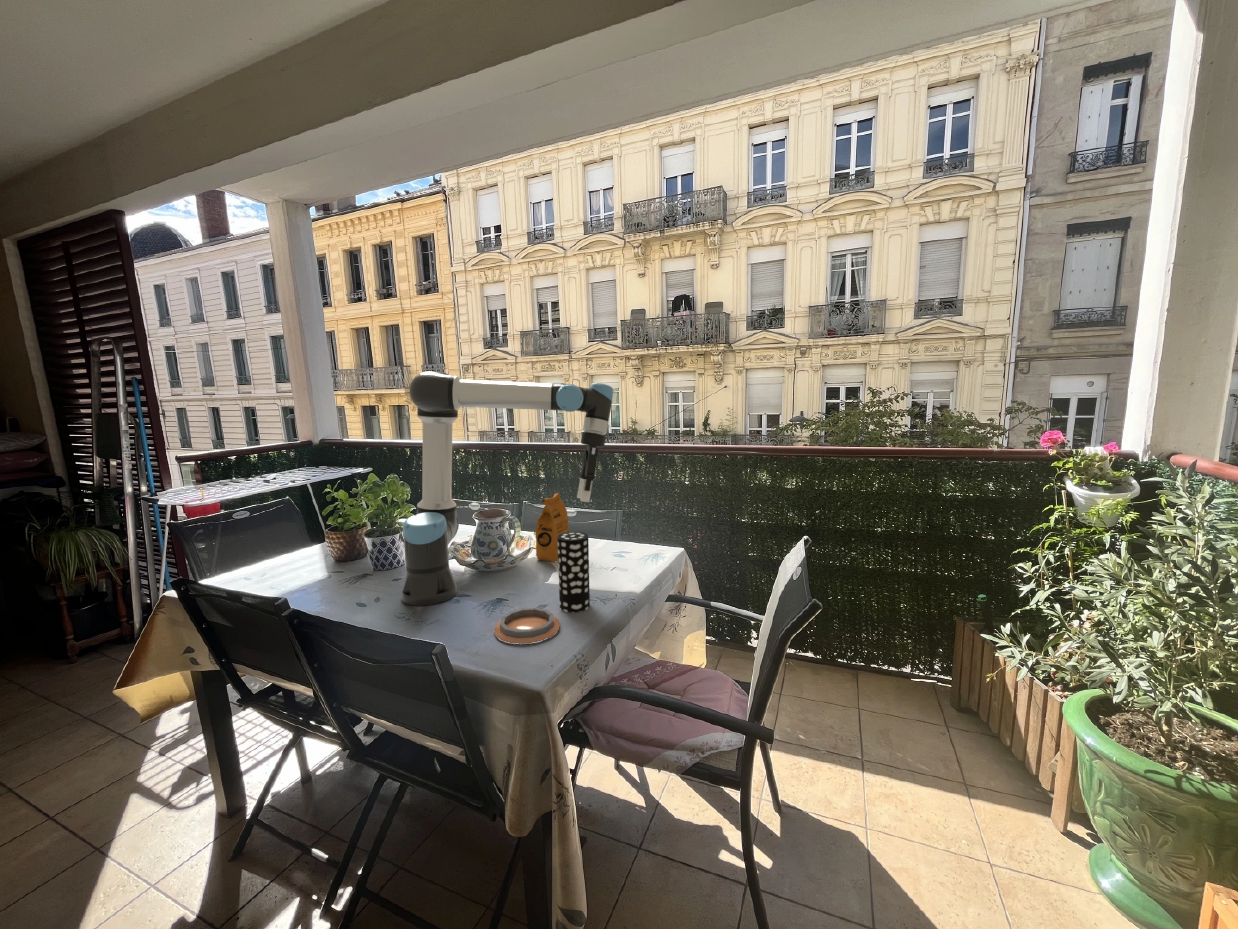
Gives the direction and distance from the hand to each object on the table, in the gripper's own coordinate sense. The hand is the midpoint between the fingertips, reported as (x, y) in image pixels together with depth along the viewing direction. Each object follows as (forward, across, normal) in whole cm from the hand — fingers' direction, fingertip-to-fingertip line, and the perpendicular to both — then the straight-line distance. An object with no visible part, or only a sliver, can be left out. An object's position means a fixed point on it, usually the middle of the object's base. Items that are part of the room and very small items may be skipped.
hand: (582, 500), depth 159 cm
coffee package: (+23, +24, +5) cm, 34 cm away
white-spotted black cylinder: (+28, -19, -1) cm, 34 cm away
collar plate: (+32, -30, +11) cm, 45 cm away
